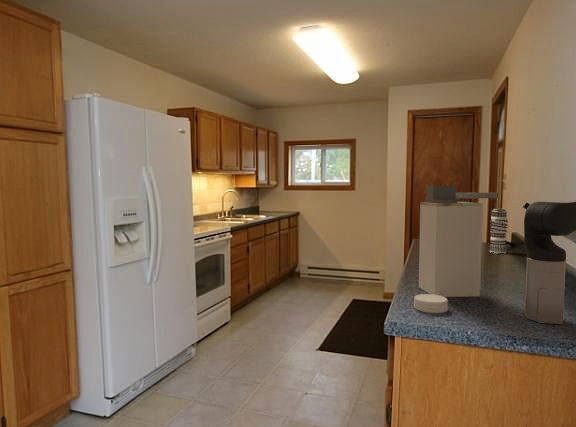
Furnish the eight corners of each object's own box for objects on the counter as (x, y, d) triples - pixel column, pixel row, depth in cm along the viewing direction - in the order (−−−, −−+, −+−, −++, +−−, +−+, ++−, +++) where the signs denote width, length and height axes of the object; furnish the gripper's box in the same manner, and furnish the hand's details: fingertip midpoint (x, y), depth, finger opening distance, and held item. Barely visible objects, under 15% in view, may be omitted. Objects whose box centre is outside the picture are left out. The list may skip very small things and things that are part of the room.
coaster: (444, 316, 116) (445, 304, 115) (410, 310, 121) (410, 299, 121) (450, 307, 124) (450, 296, 124) (418, 302, 129) (418, 291, 129)
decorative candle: (510, 252, 224) (512, 208, 222) (500, 254, 219) (502, 209, 218) (495, 250, 232) (496, 208, 230) (485, 251, 227) (486, 208, 226)
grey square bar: (491, 202, 144) (492, 185, 143) (501, 202, 138) (502, 185, 137) (426, 202, 142) (426, 185, 142) (433, 203, 136) (433, 185, 136)
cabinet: (460, 286, 149) (462, 198, 147) (480, 296, 135) (482, 199, 133) (418, 286, 149) (420, 198, 146) (434, 297, 135) (436, 199, 132)
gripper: (559, 216, 150) (524, 195, 149) (590, 219, 136) (551, 196, 134) (549, 233, 150) (514, 212, 149) (578, 238, 136) (540, 215, 135)
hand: (532, 205), depth 142 cm, fingers open, 8 cm apart
